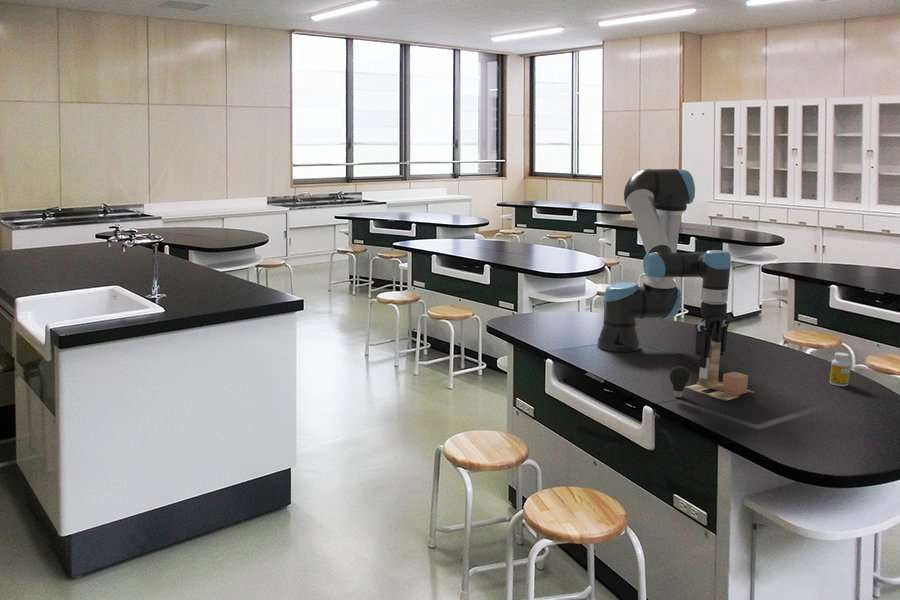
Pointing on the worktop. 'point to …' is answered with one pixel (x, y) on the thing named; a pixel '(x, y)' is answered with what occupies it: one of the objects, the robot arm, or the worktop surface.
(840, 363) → the supplement bottle
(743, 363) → the worktop surface
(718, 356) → the tan boxy piece
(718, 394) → the broken strip
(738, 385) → the terracotta cube
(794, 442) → the worktop surface
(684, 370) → the light bulb
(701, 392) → the lane rails
